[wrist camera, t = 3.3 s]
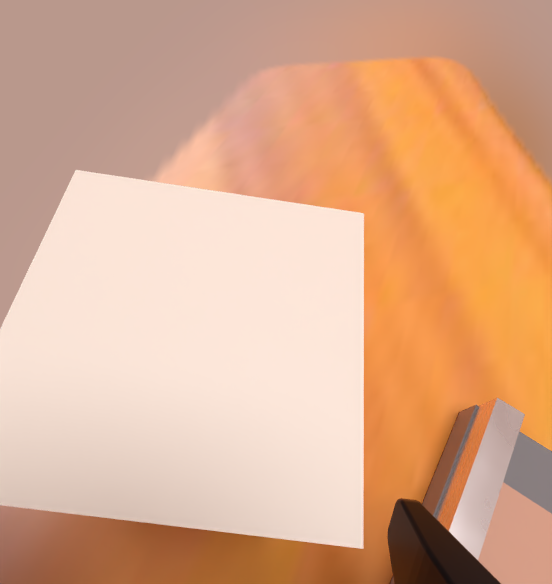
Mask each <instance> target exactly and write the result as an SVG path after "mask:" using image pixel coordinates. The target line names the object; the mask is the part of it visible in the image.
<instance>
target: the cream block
mask: <svg viewBox="0 0 552 584" xmlns="http://www.w3.org/2000/svg"><path fill="white" fill-rule="evenodd" d="M363 436H364V213H358V212H352V211H345V210H338V209H332V208H325V207H318V206H312V205H305V204H298V203H292V202H285V201H279V200H272V199H265V198H259V197H252V196H245V195H239V194H232V193H225V192H219V191H212V190H205V189H199V188H192V187H186V186H179V185H172V184H166V183H159V182H152V181H146V180H139V179H132V178H126V177H119V176H113V175H106V174H99V173H93V172H86V171H79V170H76V171H75V173H74V175H73V177H72V179H71V181H70V183H69V185H68V188H67V190H66V192H65V194H64V196H63V198H62V200H61V203H60V204H59V207H58V209H57V211H56V213H55V216H54V217H53V219H52V221H51V223H50V226H49V228H48V230H47V232H46V234H45V236H44V238H43V240H42V242H41V245H40V247H39V249H38V251H37V253H36V255H35V257H34V259H33V261H32V264H31V266H30V268H29V270H28V272H27V274H26V276H25V278H24V280H23V282H22V285H21V287H20V289H19V291H18V293H17V295H16V297H15V299H14V301H13V304H12V306H11V308H10V310H9V312H8V314H7V316H6V318H5V320H4V322H3V325H2V327H1V329H0V505H3V506H11V507H19V508H28V509H36V510H44V511H53V512H61V513H69V514H78V515H86V516H94V517H103V518H111V519H119V520H128V521H136V522H144V523H153V524H161V525H169V526H178V527H186V528H194V529H203V530H211V531H219V532H228V533H236V534H244V535H253V536H261V537H269V538H278V539H286V540H294V541H303V542H311V543H319V544H328V545H336V546H344V547H353V548H361V549H363Z"/></svg>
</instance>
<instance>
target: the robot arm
mask: <svg viewBox="0 0 552 584" xmlns="http://www.w3.org/2000/svg"><path fill="white" fill-rule="evenodd" d="M388 545H389V552H390V558H391V565H392V572H393V578H394V584H501V583H500V582H499V581H498V580H497V579H496V578H495V577H494V576H493V575H492V574H491V573H490V572H489V571H488V570H487V569H486V568H485V567H484V566H483V565H482V564H481V563H480V562H479V561H478V560H477V559H476V558H475V557H474V556H473V555H472V554H471V553H470V552H469V551H468V550H467V549H466V548H465V547H464V546H463V545H462V544H461V543H460V542H459V541H458V540H457V539H456V538H455V537H454V536H453V535H452V534H451V533H450V532H449V531H448V530H447V529H446V528H445V527H444V526H443V525H442V524H441V523H440V522H439V521H438V520H437V519H436V518H435V517H434V516H433V515H432V514H431V513H430V512H429V511H428V510H427V509H426V508H425V507H424V506H423V505H422V504H421V503H420V502H418V501H416V500H410V499H402V498H401V499H398V500H397V502H396V504H395V507H394V511H393V514H392V518H391V521H390V525H389V528H388Z"/></svg>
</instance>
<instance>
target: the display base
mask: <svg viewBox="0 0 552 584" xmlns="http://www.w3.org/2000/svg"><path fill="white" fill-rule="evenodd" d="M524 415H525V414H523V413H522V412H520V411H518V410H517V409H515V408H513V407H512V406H510V405H509V404H507V403H505V402H504V401H502V400H500V399H499V398H495V399H493V400H491V401H489V402H486V403H484V404H482V405H479V406H477V405H474V406H472V407H470V408H468V409H465V410H463V411H461V412H459V415H458V417H457V420H456V422H455V424H454V427H453V429H452V432H451V434H450V437H449V439H448V442H447V444H446V447H445V449H444V452H443V454H442V456H441V459H440V461H439V464H438V466H437V469H436V471H435V474H434V476H433V479H432V481H431V484H430V486H429V488H428V491H427V493H426V496H425V498H424V501H423V503H422V505H423V506H424V507H425V508H426V509H427V510H428V511H429V512H430V513H431V514H432V515H433V516H434V517H435V518H436V519H437V520H438V521H439V522H440V523H441V524H442V525H443V526H444V527H445V528H446V529H447V530H448V531H449V532H450V533H451V534H452V535H453V536H454V537H455V538H456V539H457V540H458V541H459V542H460V543H461V544H462V545H463V546H464V547H465V548H466V549H467V550H468V551H469V552H470V553H471V554H472V555H473V556H474V557H475V558H476V559H477V560H478V561H479V562H480V563H481V564H482V565H483V566H484V567H485V568H486V569H487V570H488V571H489V572H490V573H491V574H492V575H493V576H494V577H495V578H496V579H497V580H498V581H499V582H500V583H501V584H552V451H550V450H548V449H547V448H545V447H544V446H542V445H540V444H539V443H537V442H535V441H534V440H532V439H531V438H529V437H527V436H526V435H524V434H523V433H521V432H519V431H520V428H521V424H522V421H523V418H524ZM390 584H394V578H393V577H392V580H391V582H390Z"/></svg>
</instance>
